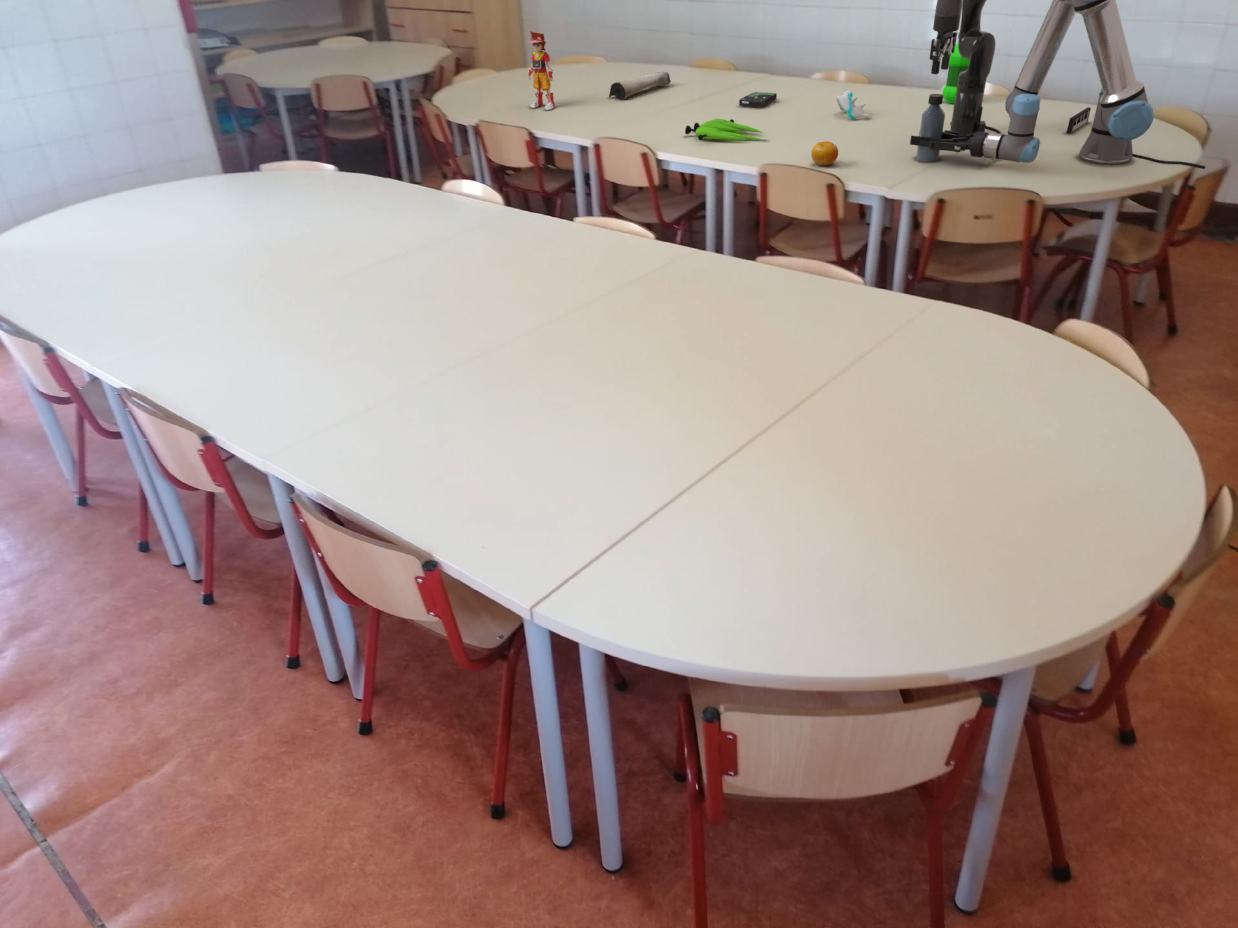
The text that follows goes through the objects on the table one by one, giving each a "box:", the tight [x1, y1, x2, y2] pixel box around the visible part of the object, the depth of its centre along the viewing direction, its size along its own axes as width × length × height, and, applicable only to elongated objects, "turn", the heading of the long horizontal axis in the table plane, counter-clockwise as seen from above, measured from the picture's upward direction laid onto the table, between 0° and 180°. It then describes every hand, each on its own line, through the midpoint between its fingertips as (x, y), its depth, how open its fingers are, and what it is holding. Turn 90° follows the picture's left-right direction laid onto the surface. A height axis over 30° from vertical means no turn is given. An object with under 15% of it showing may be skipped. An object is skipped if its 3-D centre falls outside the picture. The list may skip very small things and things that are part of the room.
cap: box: [927, 93, 944, 106], centre depth 286 cm, size 4×4×2 cm
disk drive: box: [738, 91, 778, 109], centre depth 368 cm, size 10×3×15 cm
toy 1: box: [527, 31, 556, 111], centre depth 374 cm, size 12×9×30 cm
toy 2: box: [684, 118, 766, 141], centre depth 330 cm, size 28×5×30 cm
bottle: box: [915, 104, 946, 163], centre depth 291 cm, size 7×7×20 cm
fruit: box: [810, 140, 839, 166], centre depth 296 cm, size 8×8×8 cm
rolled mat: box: [608, 71, 672, 101], centre depth 395 cm, size 30×9×10 cm
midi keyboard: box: [1066, 107, 1092, 134], centre depth 315 cm, size 18×1×5 cm, turn 138°
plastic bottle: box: [942, 31, 970, 104], centre depth 348 cm, size 10×10×25 cm
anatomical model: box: [836, 89, 870, 121], centre depth 344 cm, size 15×10×10 cm
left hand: (939, 71), depth 281 cm, fingers open, 7 cm apart
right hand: (915, 137), depth 295 cm, fingers closed on bottle, 7 cm apart
